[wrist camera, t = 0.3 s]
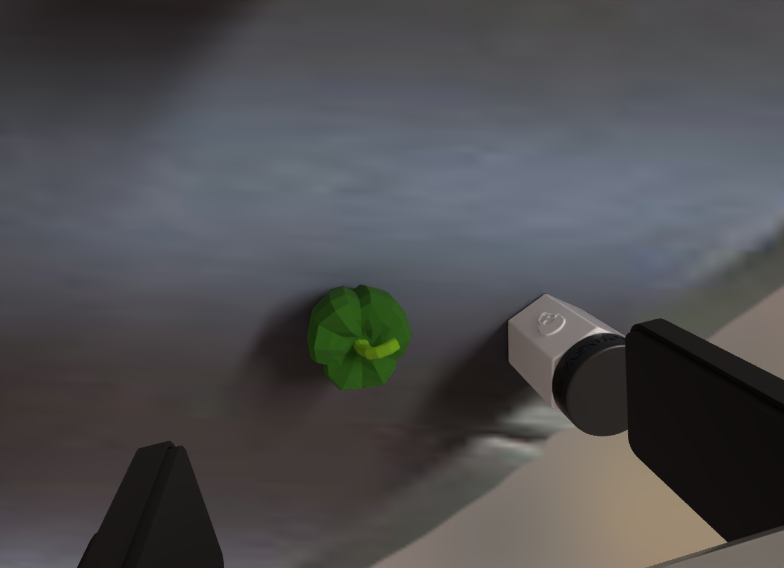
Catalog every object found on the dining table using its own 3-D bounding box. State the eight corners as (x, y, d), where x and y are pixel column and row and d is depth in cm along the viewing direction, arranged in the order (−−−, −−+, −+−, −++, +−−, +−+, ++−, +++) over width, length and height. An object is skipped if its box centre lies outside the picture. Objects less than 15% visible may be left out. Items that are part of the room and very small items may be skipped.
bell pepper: (307, 360, 48) (311, 416, 39) (302, 275, 46) (306, 312, 36) (396, 353, 50) (421, 405, 40) (396, 270, 47) (422, 304, 38)
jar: (562, 277, 51) (639, 320, 39) (597, 338, 53) (680, 394, 42) (487, 331, 51) (544, 389, 40) (527, 389, 54) (590, 458, 42)
